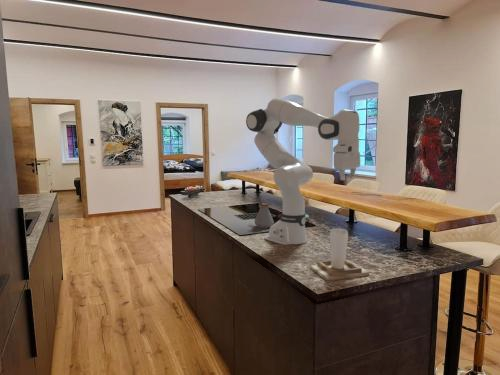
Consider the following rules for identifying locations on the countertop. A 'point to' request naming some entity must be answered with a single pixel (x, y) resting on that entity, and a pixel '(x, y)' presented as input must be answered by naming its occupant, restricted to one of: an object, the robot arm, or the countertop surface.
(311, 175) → the robot arm
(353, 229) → the countertop surface
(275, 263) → the countertop surface
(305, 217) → the donut
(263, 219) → the coffee pot
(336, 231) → the drinking glass
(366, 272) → the holder board
